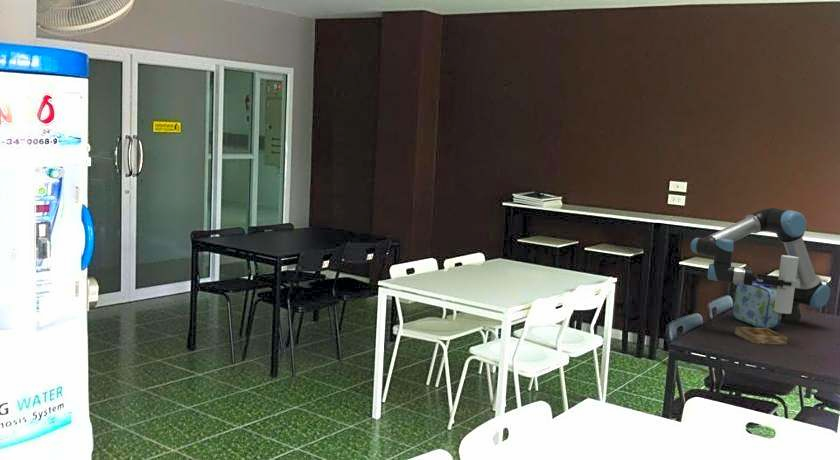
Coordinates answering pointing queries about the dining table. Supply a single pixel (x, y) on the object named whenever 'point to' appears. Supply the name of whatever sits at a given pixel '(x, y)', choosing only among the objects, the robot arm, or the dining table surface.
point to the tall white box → (786, 293)
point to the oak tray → (761, 335)
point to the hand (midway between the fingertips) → (799, 283)
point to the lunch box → (756, 305)
